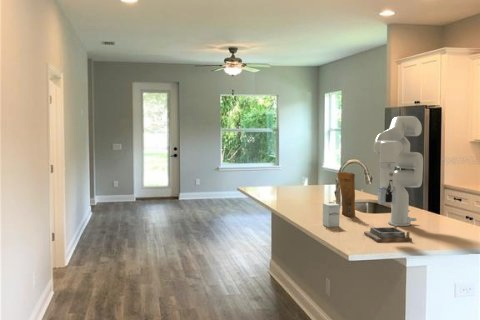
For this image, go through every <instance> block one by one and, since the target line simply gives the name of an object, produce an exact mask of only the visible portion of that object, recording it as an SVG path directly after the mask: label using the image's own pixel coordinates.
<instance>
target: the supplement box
mask: <svg viewBox="0 0 480 320" xmlns="http://www.w3.org/2000/svg"><path fill="white" fill-rule="evenodd" d="M340 209H341V207H340V204H338V203H331V202H330V203H328V202H327V203H322V225H323V226H324V227H326V228H333V227H334V228H335V227H340Z"/></svg>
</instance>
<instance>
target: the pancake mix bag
mask: <svg viewBox="0 0 480 320" xmlns="http://www.w3.org/2000/svg"><path fill="white" fill-rule="evenodd" d="M355 177H356V174H355V173H353V172H345V171H344V172H343V171H338V172H337V180H338V183H339V189H340V195H341V207H342V208H341V215H342V216H347V217H348V218H356V201H355V200H356V185H355V184H356V181H355V179H356V178H355Z"/></svg>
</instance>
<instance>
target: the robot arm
mask: <svg viewBox="0 0 480 320" xmlns="http://www.w3.org/2000/svg"><path fill="white" fill-rule="evenodd" d="M422 128H423V126H422V123H421V121H420V120H419V119H418V117H416V116H415V115H402V116H401V115H400V116H399V115H398V116H394V117H393V118H392V119H391V121H390V125H389V126H388V129H386V130H384V131H383V132H381V133H379V134H378V135H377V136H376V138H375V140H374V143H373V152H374V153H375V154H376V155H379V172H380V173H379V187H384V188H386V202H392V192H393V190H394V188H396V204H390V206H391V207H390V208H391V210H390V212H391V213H390V220H388V223H387V224H388V225H390V226H397V227H407V226H411V225H412V222H417V218H416V217H410V216H409V203H410V201H409V200H410V199H409V198H410V196H409V192H408V190H406V188H420V187H421V186H422V183H423V176H424V175H423V173H424V172H423V171H424V169H423V168H424V157H423V154H422V153H420V152H418V151H416V152H415V151H411V143H410V141H409V140H408V139H407V137H418V136H420V135H421V134H422V131H423V130H422ZM396 168H398V169H397V170H395V169H396ZM400 169H401V170H400ZM402 169H403V170H402ZM405 169H410V170H405ZM411 169H413V170H411ZM388 187H390V188H388ZM388 189H390V190H388Z"/></svg>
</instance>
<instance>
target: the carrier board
mask: <svg viewBox="0 0 480 320" xmlns="http://www.w3.org/2000/svg"><path fill="white" fill-rule="evenodd" d="M363 235H364V236H366V237H368V238H369V239H371V240H372V241H374V242H376V243H397V242H398V243H400V242H401V243H402V242H412V241H413V238H412V237H411V236H410V231H406V232H405V231H404V230H403V231H402V230H400V229H399V228H398V226H395V225H393V226H391V227H390V226H389V227H387V226H385V227H383V226H382V227H370V228H369V230H368V231H363Z"/></svg>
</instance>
